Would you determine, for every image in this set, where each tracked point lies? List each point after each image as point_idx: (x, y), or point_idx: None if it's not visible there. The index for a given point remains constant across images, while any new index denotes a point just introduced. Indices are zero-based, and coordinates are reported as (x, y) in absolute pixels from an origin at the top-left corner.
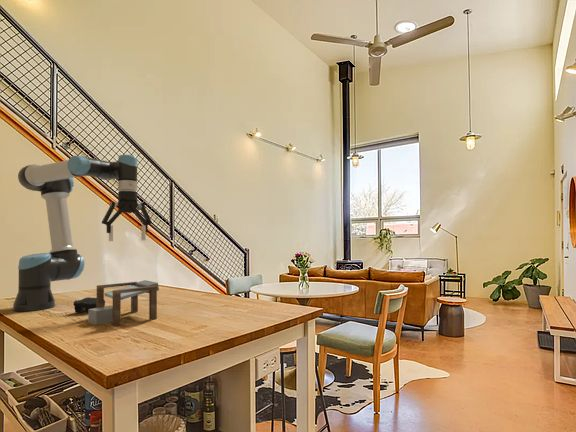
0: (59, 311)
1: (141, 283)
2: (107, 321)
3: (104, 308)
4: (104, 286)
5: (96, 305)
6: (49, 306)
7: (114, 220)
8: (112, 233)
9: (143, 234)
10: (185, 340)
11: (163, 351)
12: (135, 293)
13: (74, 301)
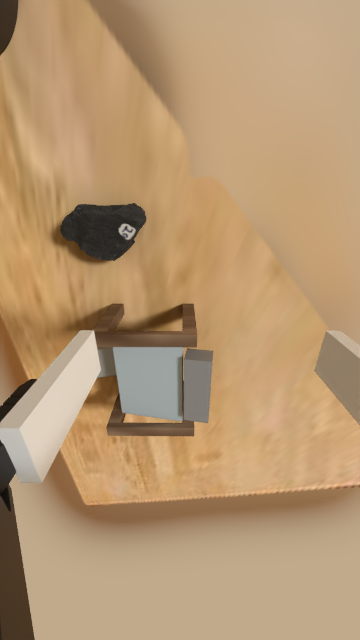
0: (40, 151)
1: (187, 385)
2: None
3: (110, 365)
4: (107, 345)
5: (105, 313)
6: (1, 44)
7: (20, 560)
8: (75, 409)
9: (343, 395)
10: (168, 481)
11: (137, 491)
12: (154, 416)
13: (61, 226)
